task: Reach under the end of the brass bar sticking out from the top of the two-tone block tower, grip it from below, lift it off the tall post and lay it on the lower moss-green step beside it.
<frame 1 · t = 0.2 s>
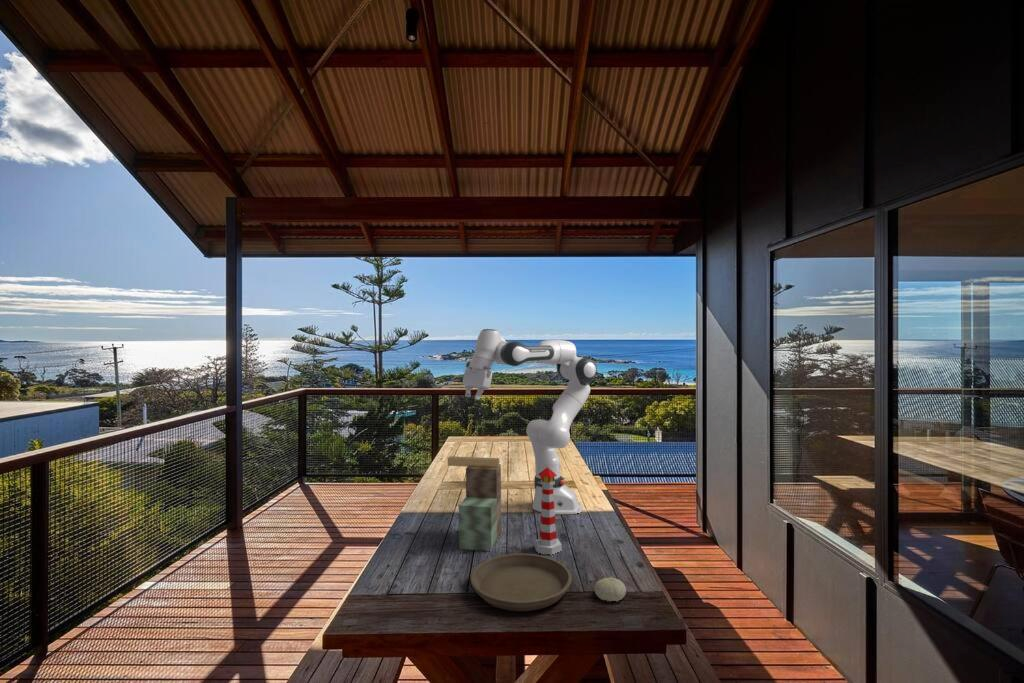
hand: (472, 398, 213), 52 cm above the table, tool tilted 20°, fingers open, 8 cm apart
brass bar: (473, 465, 201), point 27 cm above the table, touching two-tone block tower
plant saucer: (521, 589, 159), on the table
sea urchin shell: (610, 597, 154), on the table
decorative lighthouse: (547, 549, 187), on the table
two-tone block tower: (480, 540, 196), on the table
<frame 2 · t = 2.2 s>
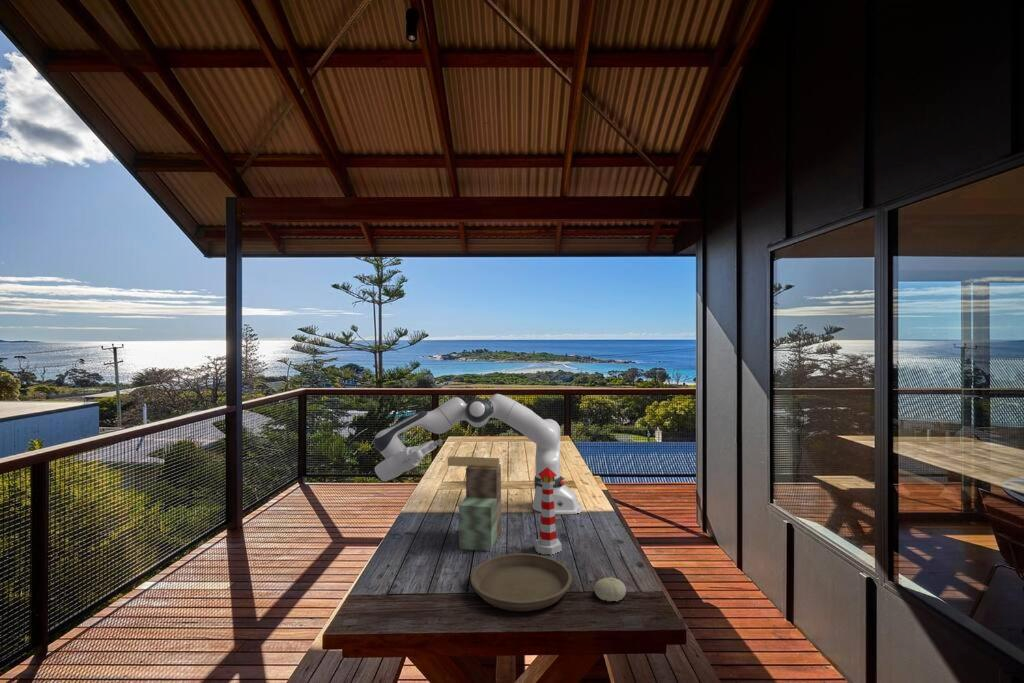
hand: (437, 443, 214), 33 cm above the table, tool pointing upward, fingers open, 8 cm apart
nothing on the table moved.
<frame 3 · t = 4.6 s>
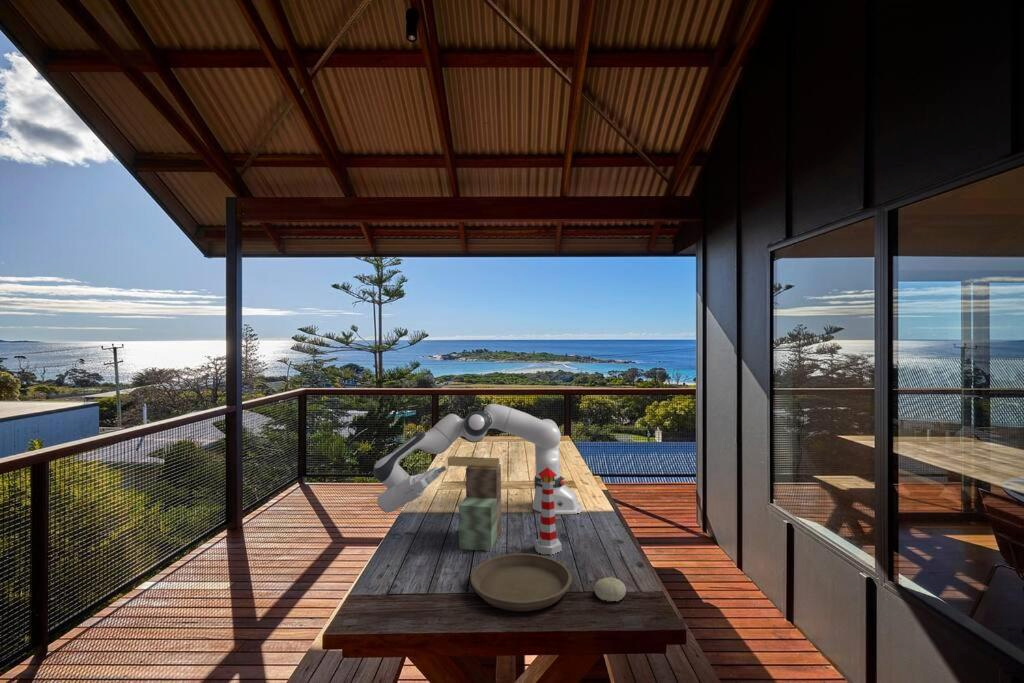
hand: (441, 470, 203), 24 cm above the table, tool pointing upward, fingers open, 8 cm apart
nothing on the table moved.
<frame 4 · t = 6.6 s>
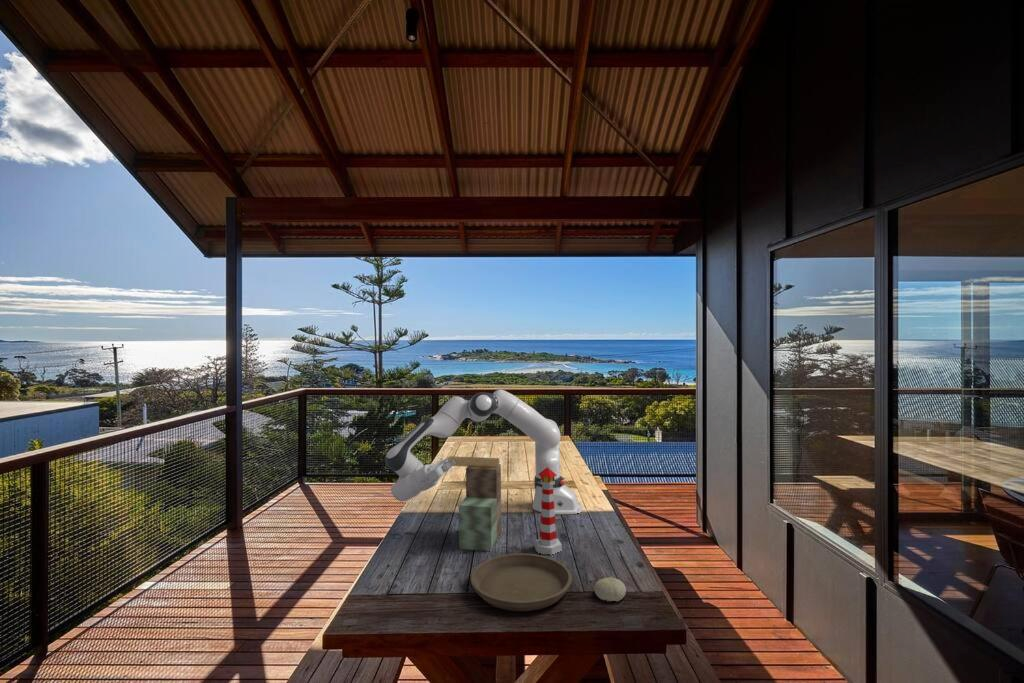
hand: (456, 460, 202), 29 cm above the table, tool pointing upward, fingers closed on brass bar, 3 cm apart
brass bar: (473, 465, 201), point 27 cm above the table, touching gripper, two-tone block tower
everything else where it was.
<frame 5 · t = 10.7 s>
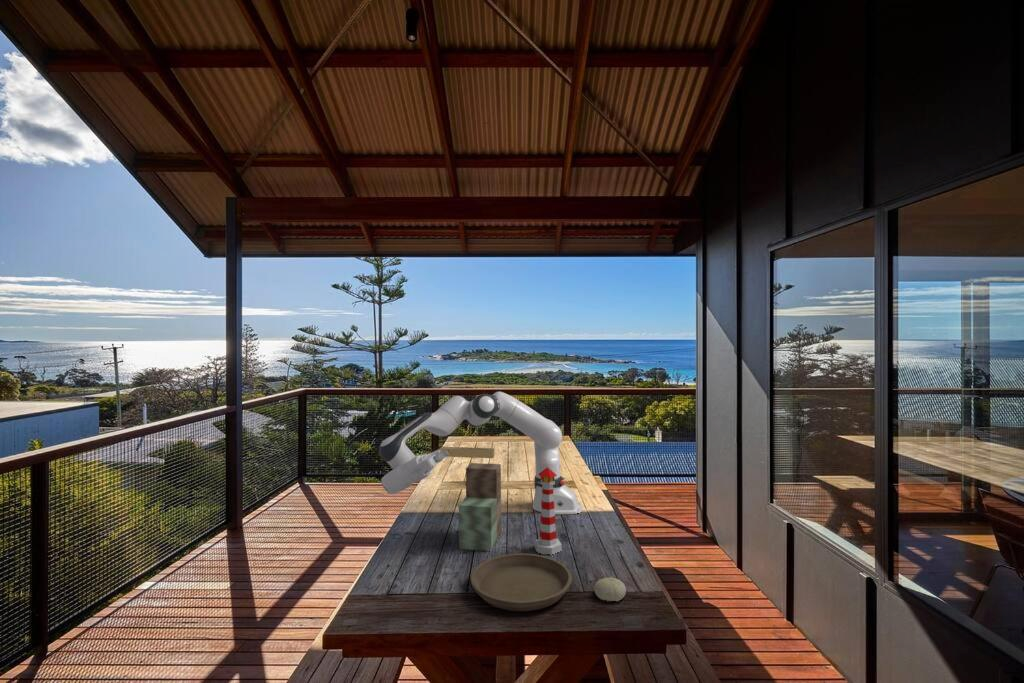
hand: (450, 450, 193), 35 cm above the table, tool pointing upward, fingers closed on brass bar, 3 cm apart
brass bar: (467, 456, 192), point 33 cm above the table, touching gripper
everything else where it was.
when the fingers open (19 cm above the table, at t = 14.6 s): brass bar stays where it is, resting on two-tone block tower.
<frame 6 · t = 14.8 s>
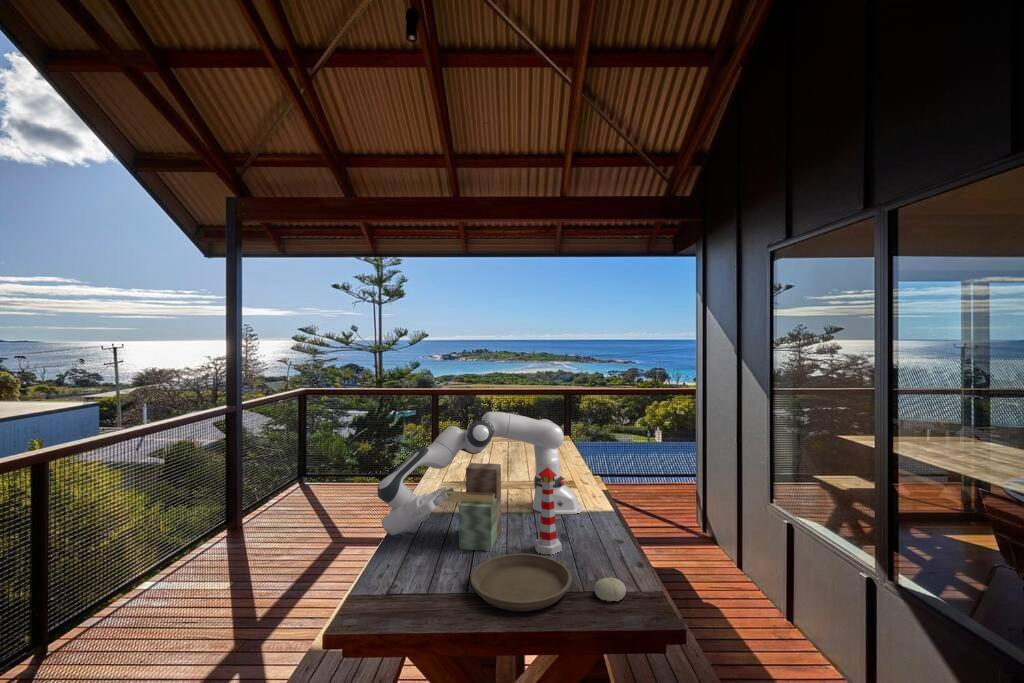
hand: (450, 492, 194), 19 cm above the table, tool pointing upward, fingers open, 5 cm apart
brass bar: (467, 501, 192), point 16 cm above the table, touching two-tone block tower
everything else where it was.
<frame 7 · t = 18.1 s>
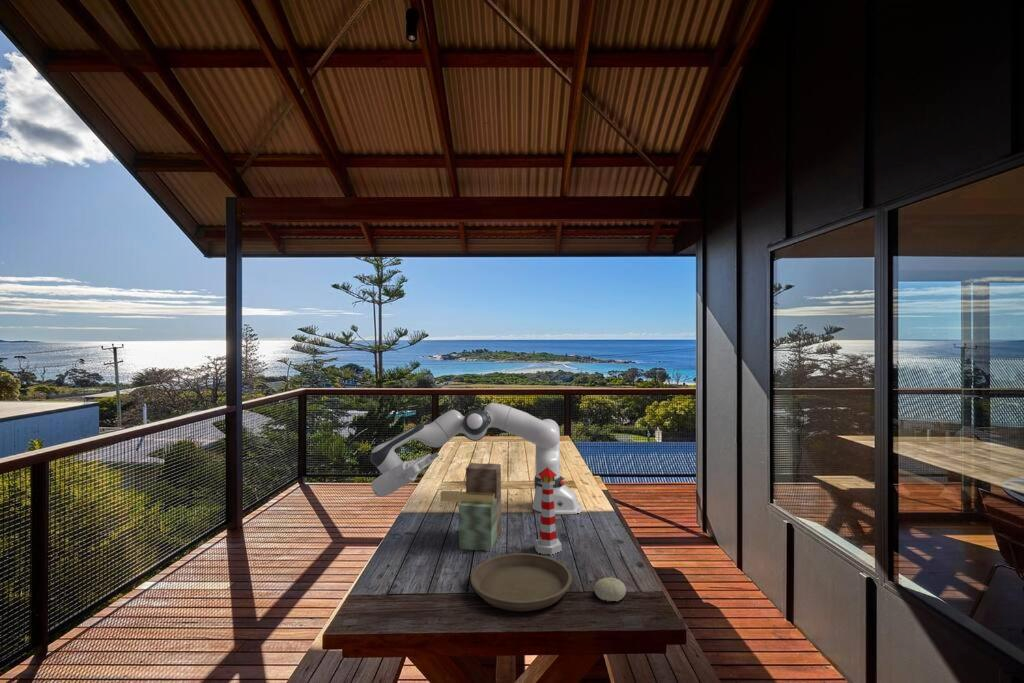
hand: (434, 457, 210), 28 cm above the table, tool pointing upward, fingers open, 8 cm apart
nothing on the table moved.
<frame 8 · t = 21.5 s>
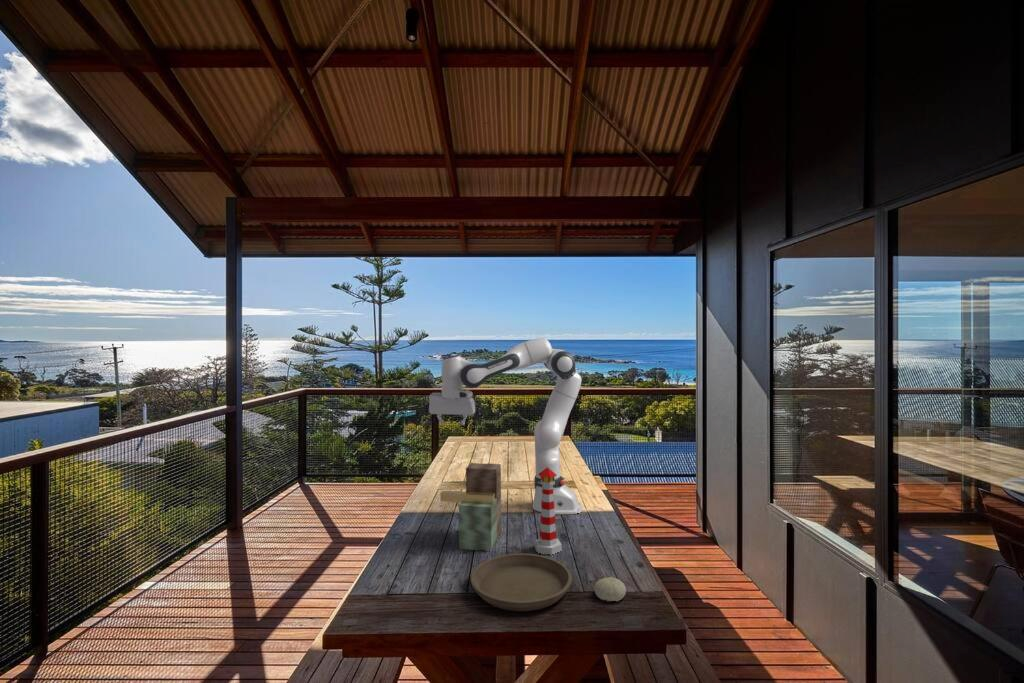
hand: (452, 424, 224), 39 cm above the table, tool pointing down, fingers open, 8 cm apart
nothing on the table moved.
at the end: brass bar inside the target area (1.1 cm from its centre), point 16.0 cm above the table; the gripper is holding nothing; brass bar tilted 0° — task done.
